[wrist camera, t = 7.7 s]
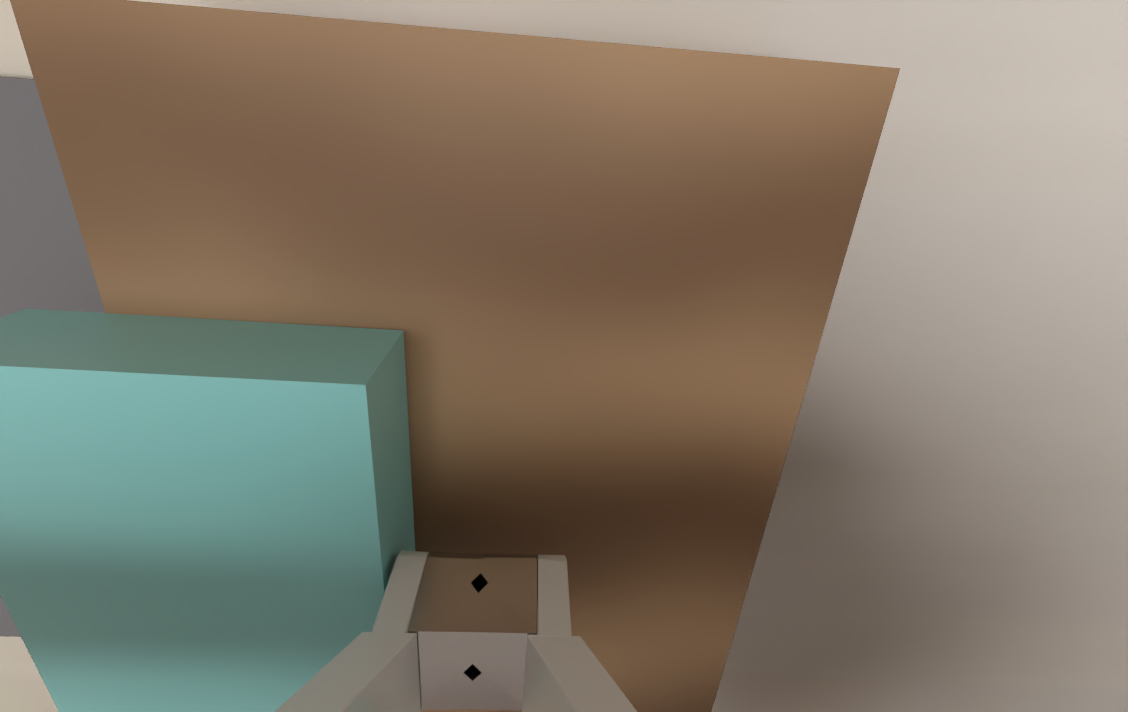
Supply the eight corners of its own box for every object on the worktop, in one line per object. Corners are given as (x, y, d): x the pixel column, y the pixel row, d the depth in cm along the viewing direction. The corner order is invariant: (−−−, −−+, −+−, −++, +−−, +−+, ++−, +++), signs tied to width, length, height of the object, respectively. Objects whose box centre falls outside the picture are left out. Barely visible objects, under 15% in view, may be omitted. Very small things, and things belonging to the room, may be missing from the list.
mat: (292, 631, 17) (287, 640, 17) (1, 627, 17) (-8, 636, 16) (181, 91, 11) (171, 90, 10) (-303, 53, 10) (-326, 51, 10)
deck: (659, 656, 18) (688, 788, 15) (311, 652, 18) (251, 790, 14) (782, 86, 11) (900, 68, 7) (196, 37, 10) (6, -11, 7)
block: (422, 681, 12) (400, 778, 11) (160, 676, 12) (91, 775, 10) (403, 330, 9) (365, 385, 7) (27, 308, 8) (-119, 359, 7)
